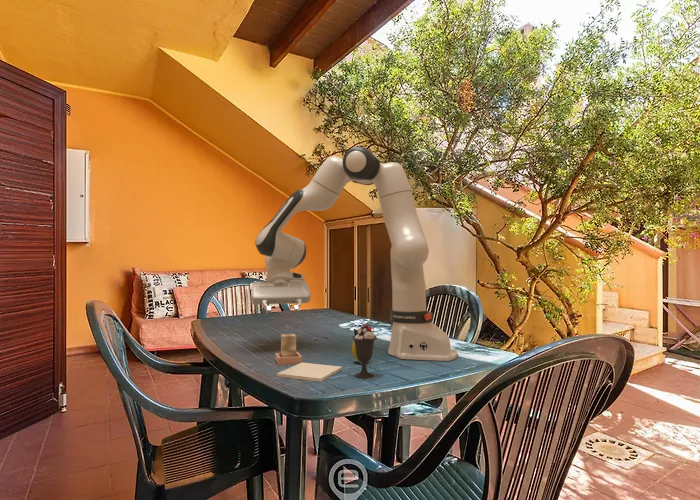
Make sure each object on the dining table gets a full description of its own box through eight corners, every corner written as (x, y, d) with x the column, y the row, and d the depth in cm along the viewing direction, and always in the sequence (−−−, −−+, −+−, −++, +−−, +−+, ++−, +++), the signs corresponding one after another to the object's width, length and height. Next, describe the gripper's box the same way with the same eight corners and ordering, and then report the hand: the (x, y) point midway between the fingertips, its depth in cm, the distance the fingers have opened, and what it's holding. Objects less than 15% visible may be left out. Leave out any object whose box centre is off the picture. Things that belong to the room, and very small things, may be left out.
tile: (342, 369, 116) (342, 366, 116) (321, 381, 104) (321, 378, 104) (301, 365, 121) (301, 362, 121) (277, 376, 109) (277, 373, 109)
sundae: (380, 377, 107) (380, 319, 108) (356, 380, 105) (355, 320, 106) (372, 371, 113) (372, 316, 114) (348, 373, 111) (348, 317, 112)
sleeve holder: (298, 358, 130) (298, 351, 130) (302, 363, 123) (302, 356, 123) (275, 359, 128) (275, 353, 128) (278, 365, 121) (278, 358, 121)
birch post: (293, 359, 128) (293, 333, 128) (296, 362, 124) (296, 335, 124) (280, 360, 127) (281, 334, 127) (282, 363, 123) (282, 336, 123)
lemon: (369, 365, 120) (368, 337, 121) (350, 364, 121) (350, 337, 122) (371, 361, 126) (371, 334, 126) (354, 360, 127) (353, 334, 127)
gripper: (249, 275, 142) (251, 306, 133) (308, 274, 148) (314, 304, 138) (248, 287, 146) (250, 318, 137) (306, 286, 152) (311, 316, 143)
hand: (283, 311), depth 138 cm, fingers open, 8 cm apart
